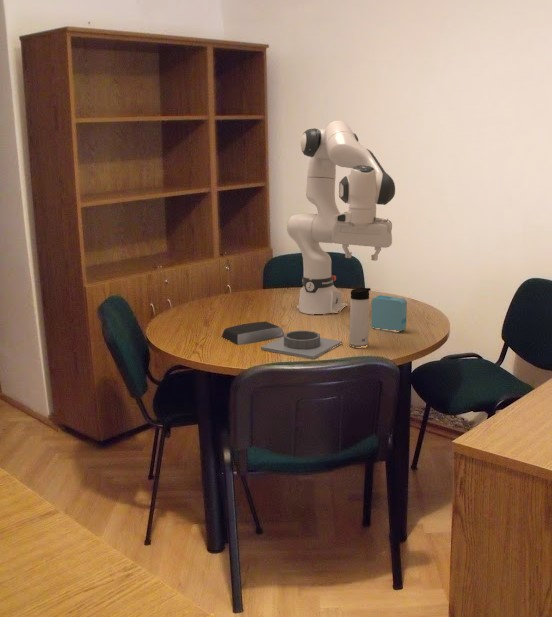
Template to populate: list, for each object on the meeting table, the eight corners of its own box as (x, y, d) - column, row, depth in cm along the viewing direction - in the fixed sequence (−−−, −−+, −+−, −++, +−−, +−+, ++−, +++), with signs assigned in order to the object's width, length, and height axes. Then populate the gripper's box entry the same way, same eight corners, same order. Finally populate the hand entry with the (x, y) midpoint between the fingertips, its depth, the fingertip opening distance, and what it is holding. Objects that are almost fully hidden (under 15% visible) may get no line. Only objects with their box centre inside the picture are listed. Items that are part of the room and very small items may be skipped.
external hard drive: (286, 338, 255) (286, 327, 254) (238, 347, 245) (238, 335, 244) (266, 329, 266) (266, 319, 265) (220, 338, 256) (220, 327, 255)
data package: (406, 330, 262) (407, 298, 259) (400, 333, 258) (402, 301, 255) (376, 326, 268) (377, 294, 265) (370, 328, 265) (371, 297, 262)
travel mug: (368, 349, 240) (369, 290, 235) (348, 348, 241) (349, 289, 236) (369, 343, 246) (371, 286, 241) (350, 342, 247) (351, 285, 242)
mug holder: (292, 335, 256) (292, 324, 255) (342, 343, 246) (342, 332, 245) (261, 349, 240) (260, 338, 239) (313, 359, 229) (313, 347, 228)
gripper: (396, 217, 230) (394, 260, 233) (339, 214, 241) (338, 255, 244) (387, 219, 225) (386, 263, 228) (330, 216, 236) (329, 257, 239)
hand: (361, 259), depth 236 cm, fingers open, 8 cm apart
